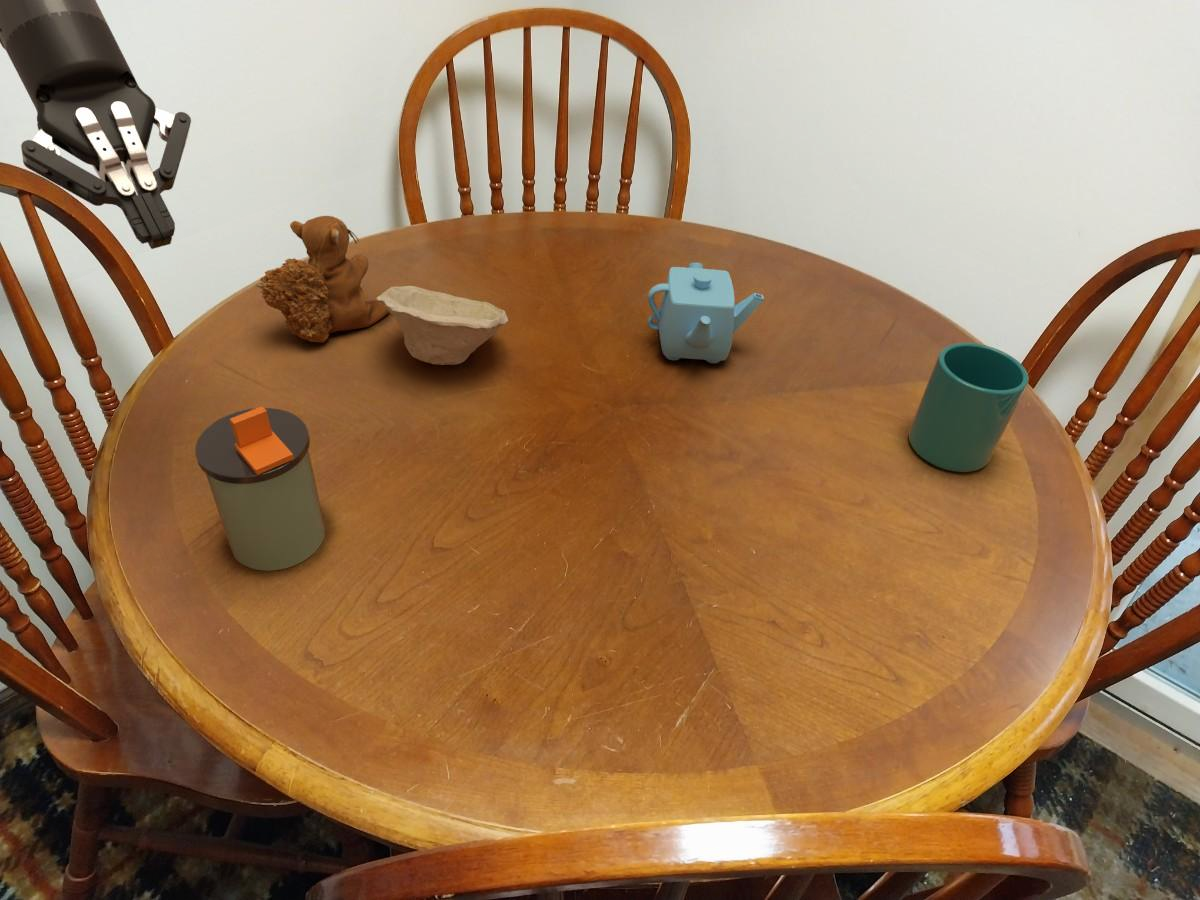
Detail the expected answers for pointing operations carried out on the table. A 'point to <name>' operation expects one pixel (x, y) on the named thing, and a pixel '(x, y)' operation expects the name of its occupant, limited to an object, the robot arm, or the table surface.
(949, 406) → the cup
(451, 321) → the bowl
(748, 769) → the table surface
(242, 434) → the slider
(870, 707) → the table surface
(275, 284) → the stuffed squirrel
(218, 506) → the lidded canister
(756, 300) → the teapot
